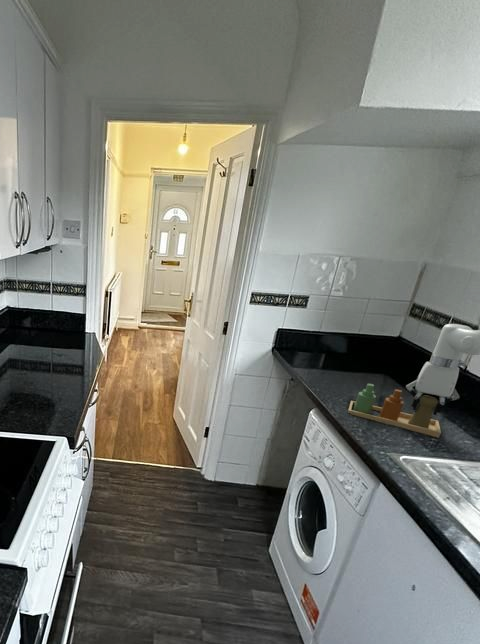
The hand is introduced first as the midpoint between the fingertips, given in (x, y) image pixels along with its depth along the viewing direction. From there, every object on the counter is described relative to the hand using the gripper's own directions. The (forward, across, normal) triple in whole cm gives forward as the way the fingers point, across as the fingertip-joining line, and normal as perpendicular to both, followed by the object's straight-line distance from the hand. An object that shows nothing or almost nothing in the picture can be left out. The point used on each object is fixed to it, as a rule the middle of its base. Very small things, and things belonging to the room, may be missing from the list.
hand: (424, 410), depth 144 cm
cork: (+6, 0, 0) cm, 6 cm away
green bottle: (+6, +18, 0) cm, 19 cm away
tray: (+6, +8, 0) cm, 10 cm away
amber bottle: (+6, +9, 0) cm, 11 cm away
